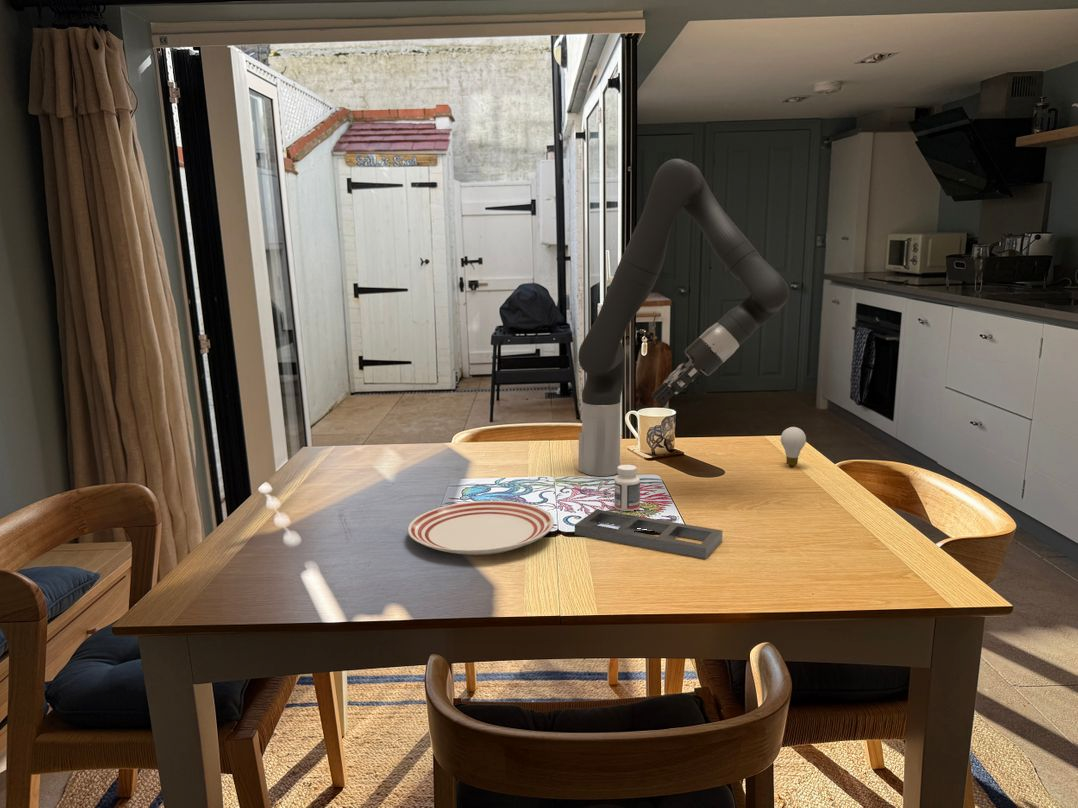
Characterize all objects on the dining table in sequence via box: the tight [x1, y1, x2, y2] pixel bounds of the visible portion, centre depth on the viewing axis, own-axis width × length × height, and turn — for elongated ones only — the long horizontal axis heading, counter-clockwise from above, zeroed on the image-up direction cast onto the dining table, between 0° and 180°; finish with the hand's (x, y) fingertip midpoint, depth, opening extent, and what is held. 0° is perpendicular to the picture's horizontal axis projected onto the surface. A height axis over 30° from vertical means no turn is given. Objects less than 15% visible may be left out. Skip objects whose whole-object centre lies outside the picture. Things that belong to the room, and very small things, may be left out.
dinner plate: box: [407, 500, 555, 556], centre depth 150 cm, size 28×27×3 cm
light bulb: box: [780, 426, 807, 468], centre depth 193 cm, size 6×6×10 cm
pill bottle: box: [613, 464, 641, 512], centre depth 165 cm, size 5×5×9 cm
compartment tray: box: [574, 509, 724, 560], centre depth 149 cm, size 26×10×2 cm, turn 61°
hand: (655, 400), depth 170 cm, fingers open, 8 cm apart
